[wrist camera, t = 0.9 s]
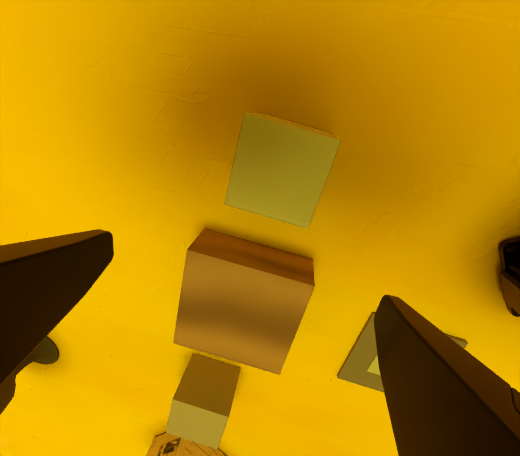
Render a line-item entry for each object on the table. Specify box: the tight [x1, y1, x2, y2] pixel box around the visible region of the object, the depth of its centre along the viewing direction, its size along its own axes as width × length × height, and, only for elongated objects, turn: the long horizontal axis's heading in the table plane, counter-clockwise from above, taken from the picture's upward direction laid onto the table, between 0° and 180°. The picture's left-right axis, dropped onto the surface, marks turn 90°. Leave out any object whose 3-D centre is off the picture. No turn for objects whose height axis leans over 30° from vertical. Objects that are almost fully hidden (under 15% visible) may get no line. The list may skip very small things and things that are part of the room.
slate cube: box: [166, 353, 240, 449], centre depth 27 cm, size 5×5×5 cm
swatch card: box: [337, 312, 468, 392], centre depth 24 cm, size 8×8×1 cm
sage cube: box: [224, 112, 341, 229], centre depth 17 cm, size 5×5×5 cm
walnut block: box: [173, 229, 315, 375], centre depth 22 cm, size 9×9×4 cm
